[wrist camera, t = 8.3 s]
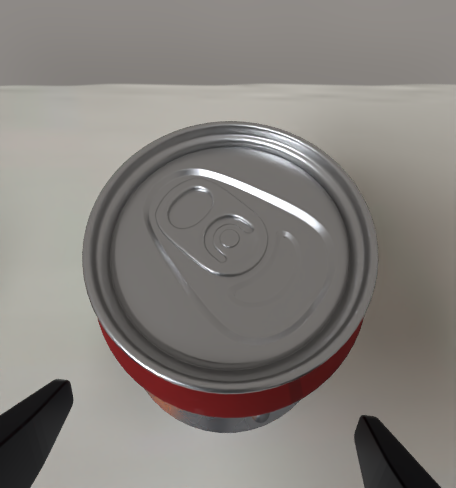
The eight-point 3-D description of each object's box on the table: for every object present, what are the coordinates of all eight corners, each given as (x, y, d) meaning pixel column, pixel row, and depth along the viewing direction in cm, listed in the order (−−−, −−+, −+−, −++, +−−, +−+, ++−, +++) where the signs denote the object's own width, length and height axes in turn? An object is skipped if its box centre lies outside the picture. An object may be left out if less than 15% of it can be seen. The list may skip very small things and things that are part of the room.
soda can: (237, 408, 14) (258, 588, 3) (150, 322, 16) (-28, 246, 5) (309, 310, 16) (478, 212, 5) (225, 243, 18) (216, 61, 7)
